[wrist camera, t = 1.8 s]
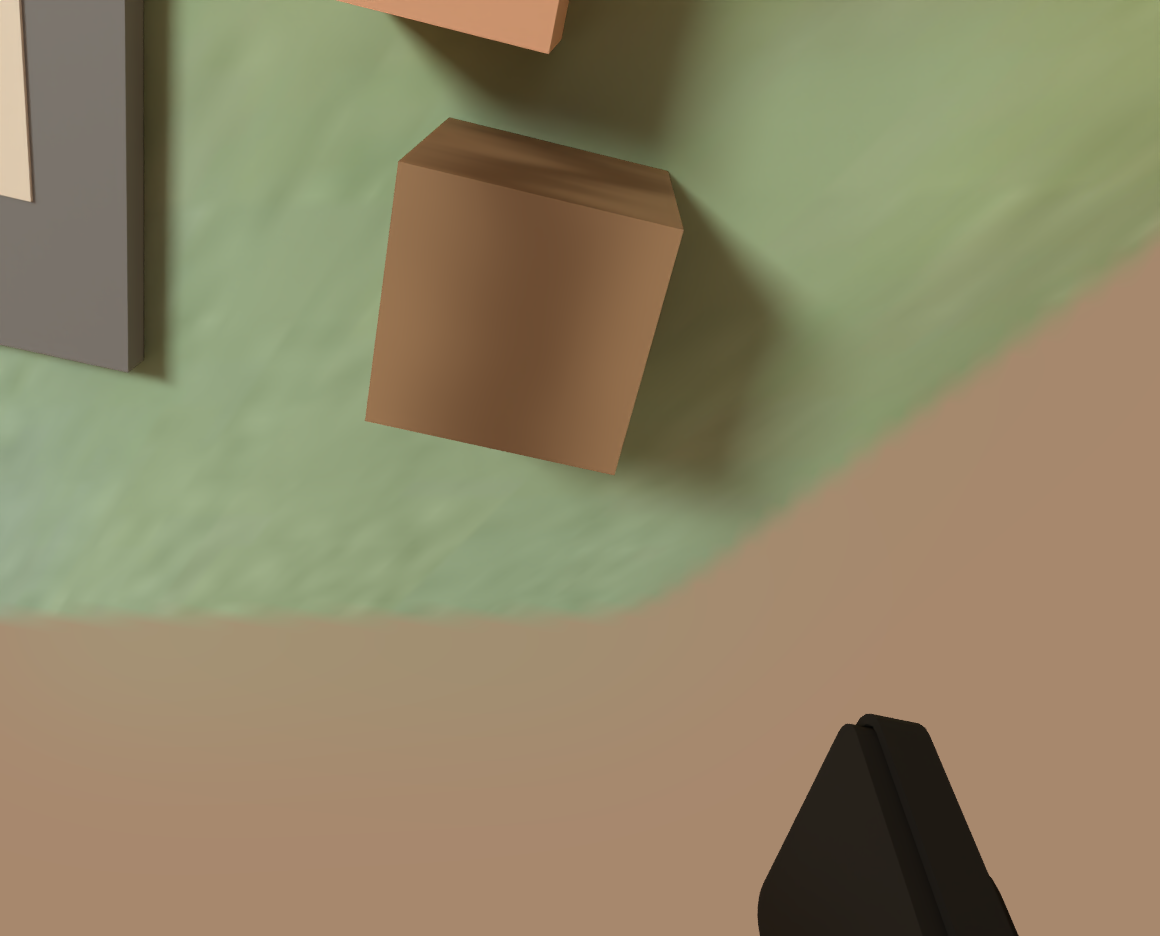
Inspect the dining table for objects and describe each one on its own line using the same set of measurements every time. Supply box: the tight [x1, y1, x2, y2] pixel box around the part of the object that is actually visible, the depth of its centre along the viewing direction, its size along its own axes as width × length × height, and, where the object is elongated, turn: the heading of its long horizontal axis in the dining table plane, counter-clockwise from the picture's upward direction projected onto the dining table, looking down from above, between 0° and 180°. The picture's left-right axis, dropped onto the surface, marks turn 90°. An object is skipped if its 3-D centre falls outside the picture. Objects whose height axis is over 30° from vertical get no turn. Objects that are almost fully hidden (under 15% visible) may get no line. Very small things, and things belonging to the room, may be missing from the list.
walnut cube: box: [365, 117, 684, 475], centre depth 23 cm, size 6×6×6 cm
